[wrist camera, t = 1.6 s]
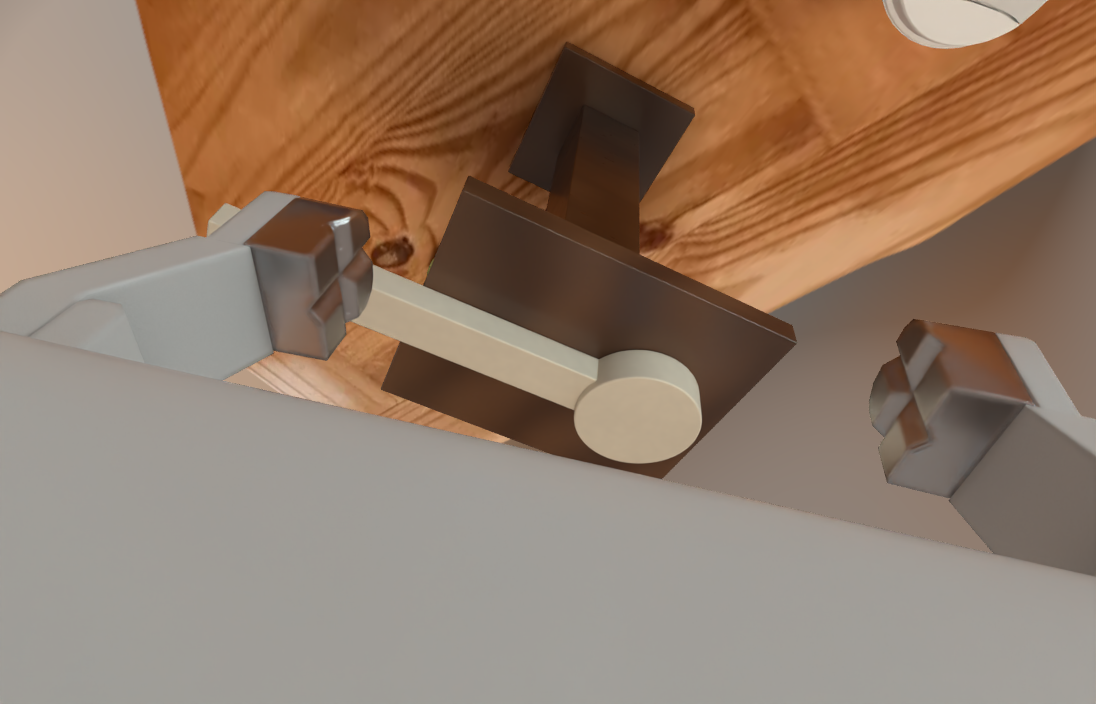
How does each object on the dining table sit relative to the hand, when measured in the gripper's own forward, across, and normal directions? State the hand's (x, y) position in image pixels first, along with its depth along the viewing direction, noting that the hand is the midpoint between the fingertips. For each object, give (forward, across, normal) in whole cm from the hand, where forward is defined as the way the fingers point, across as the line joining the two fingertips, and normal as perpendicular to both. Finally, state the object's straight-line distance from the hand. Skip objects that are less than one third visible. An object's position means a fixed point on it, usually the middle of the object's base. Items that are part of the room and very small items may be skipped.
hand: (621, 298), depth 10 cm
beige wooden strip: (+13, +6, +12) cm, 19 cm away
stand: (+39, +4, +13) cm, 41 cm away
